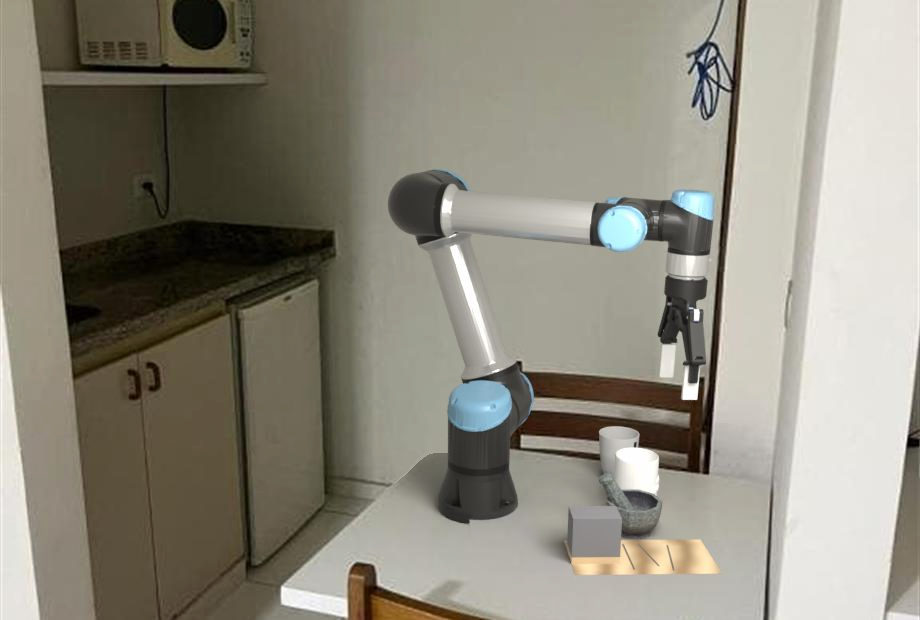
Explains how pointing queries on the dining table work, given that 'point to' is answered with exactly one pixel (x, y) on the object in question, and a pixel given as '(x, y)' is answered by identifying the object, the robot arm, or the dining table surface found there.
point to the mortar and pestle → (632, 508)
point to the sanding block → (594, 534)
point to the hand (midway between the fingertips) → (677, 387)
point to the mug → (637, 469)
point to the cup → (615, 444)
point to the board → (655, 559)
